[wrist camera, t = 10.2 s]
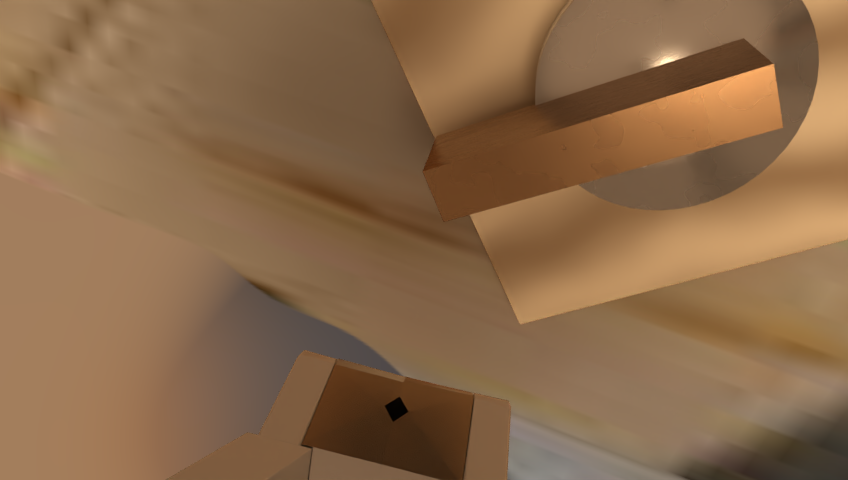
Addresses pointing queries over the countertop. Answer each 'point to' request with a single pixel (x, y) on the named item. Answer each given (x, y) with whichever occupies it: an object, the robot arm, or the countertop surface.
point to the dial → (641, 107)
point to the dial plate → (597, 218)
